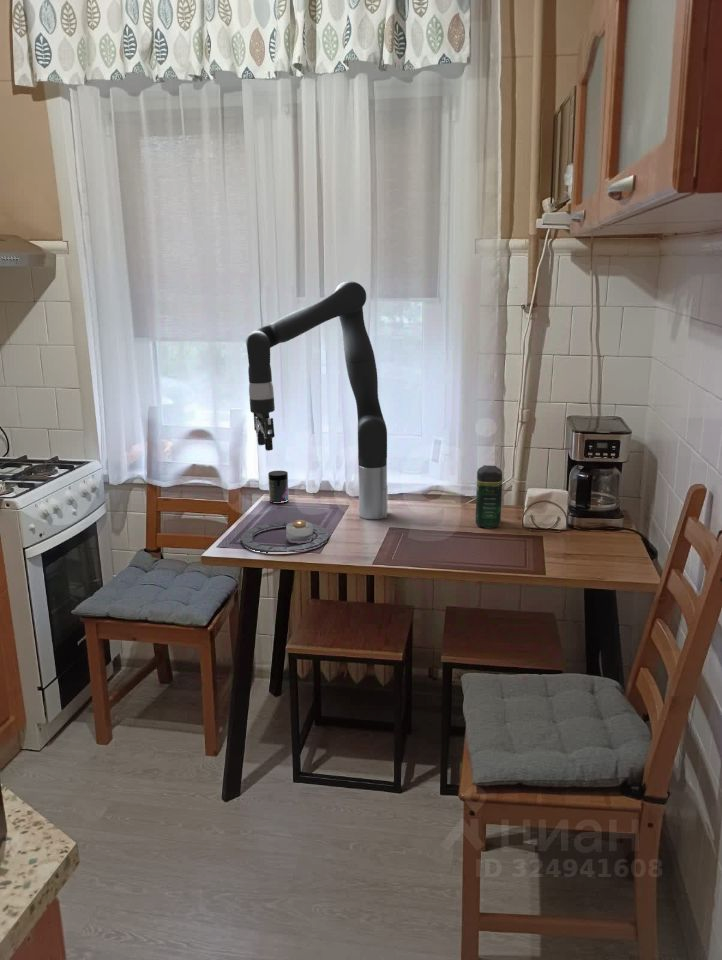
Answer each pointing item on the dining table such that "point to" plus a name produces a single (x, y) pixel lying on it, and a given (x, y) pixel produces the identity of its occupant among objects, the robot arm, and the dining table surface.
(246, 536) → the centring ring
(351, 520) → the dining table surface
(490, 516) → the coffee jar
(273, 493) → the supplement container
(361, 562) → the dining table surface
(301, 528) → the cast cover
